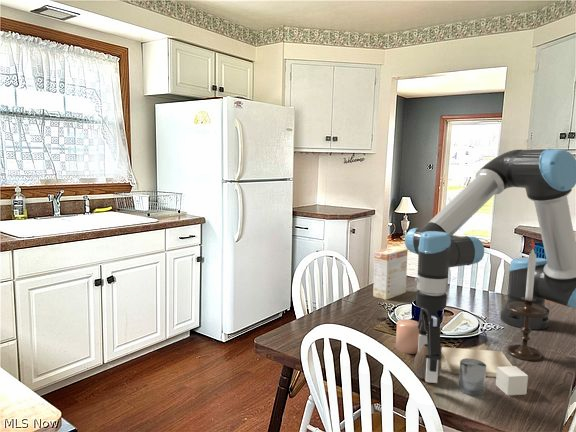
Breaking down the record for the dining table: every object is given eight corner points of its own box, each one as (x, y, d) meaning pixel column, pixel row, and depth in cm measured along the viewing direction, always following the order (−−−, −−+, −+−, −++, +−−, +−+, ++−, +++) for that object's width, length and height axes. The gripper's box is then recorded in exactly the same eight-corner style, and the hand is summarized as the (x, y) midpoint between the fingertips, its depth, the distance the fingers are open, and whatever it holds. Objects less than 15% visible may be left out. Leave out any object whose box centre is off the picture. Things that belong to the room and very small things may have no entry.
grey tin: (480, 385, 111) (482, 359, 111) (487, 397, 106) (489, 370, 105) (456, 383, 112) (457, 357, 111) (461, 395, 106) (463, 368, 106)
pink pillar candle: (417, 344, 135) (419, 320, 134) (421, 354, 128) (422, 328, 127) (394, 342, 136) (395, 318, 135) (396, 352, 130) (398, 327, 128)
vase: (409, 371, 118) (411, 340, 117) (433, 370, 119) (435, 339, 118) (419, 384, 112) (420, 351, 110) (445, 383, 112) (447, 351, 111)
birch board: (501, 355, 128) (501, 351, 128) (518, 378, 115) (519, 374, 115) (441, 350, 131) (441, 347, 131) (451, 373, 117) (452, 369, 117)
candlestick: (497, 345, 135) (506, 235, 130) (532, 346, 135) (542, 235, 130) (514, 362, 124) (524, 242, 119) (552, 363, 124) (564, 242, 119)
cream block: (513, 384, 112) (515, 366, 112) (526, 394, 107) (528, 375, 107) (495, 385, 112) (497, 366, 111) (507, 395, 107) (508, 376, 106)
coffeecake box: (392, 289, 193) (394, 246, 190) (406, 292, 187) (408, 248, 185) (372, 296, 182) (373, 250, 180) (386, 300, 177) (388, 253, 175)
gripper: (410, 277, 125) (406, 347, 128) (424, 306, 101) (419, 392, 103) (437, 279, 124) (433, 349, 127) (458, 308, 99) (451, 395, 102)
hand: (426, 369), depth 115 cm, fingers open, 13 cm apart
